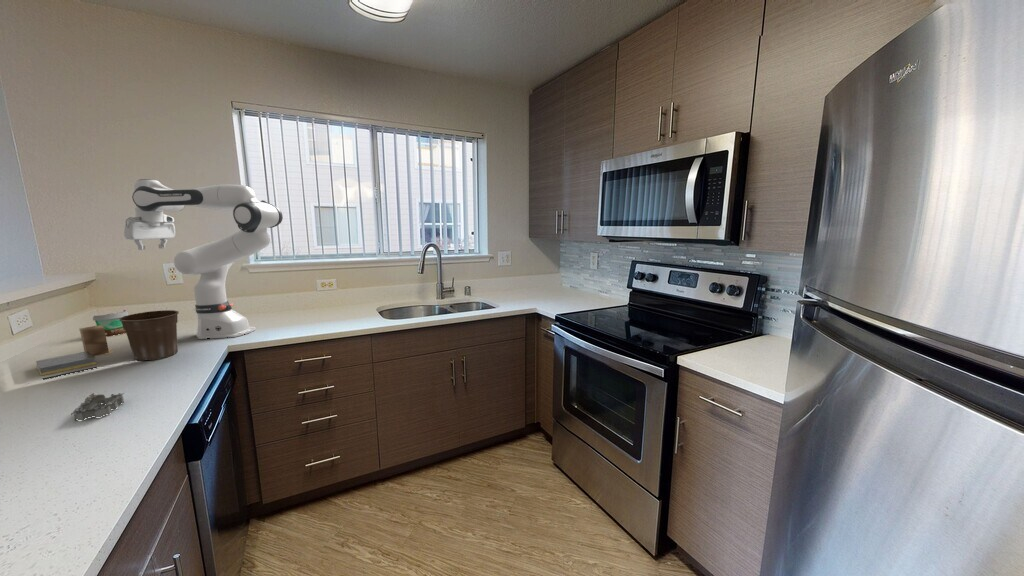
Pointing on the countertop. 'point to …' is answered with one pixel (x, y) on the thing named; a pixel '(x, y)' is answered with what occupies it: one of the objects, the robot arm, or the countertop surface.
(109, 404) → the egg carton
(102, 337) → the crate
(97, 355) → the pallet
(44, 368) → the dock
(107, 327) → the food container
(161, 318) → the plant pot
